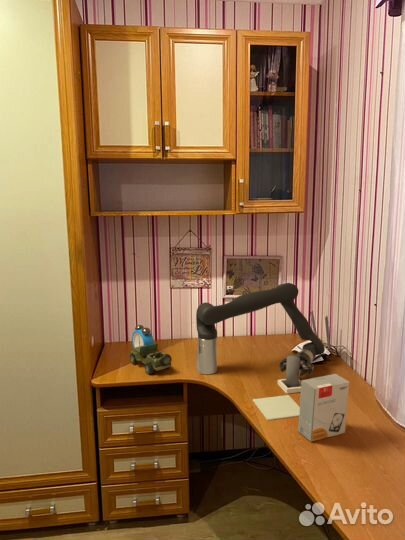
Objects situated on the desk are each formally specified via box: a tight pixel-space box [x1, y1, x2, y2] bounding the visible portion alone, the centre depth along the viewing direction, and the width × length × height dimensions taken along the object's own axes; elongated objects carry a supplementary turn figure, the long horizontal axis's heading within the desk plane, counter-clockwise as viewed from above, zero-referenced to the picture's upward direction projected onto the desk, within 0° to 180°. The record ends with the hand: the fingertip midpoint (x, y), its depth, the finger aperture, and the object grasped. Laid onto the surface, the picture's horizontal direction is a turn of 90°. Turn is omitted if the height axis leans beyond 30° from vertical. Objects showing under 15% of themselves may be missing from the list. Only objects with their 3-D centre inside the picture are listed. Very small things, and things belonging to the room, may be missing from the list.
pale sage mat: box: [252, 394, 300, 421], centre depth 168 cm, size 16×16×1 cm
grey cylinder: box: [285, 354, 300, 388], centre depth 184 cm, size 6×6×14 cm
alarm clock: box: [131, 324, 155, 349], centre depth 224 cm, size 13×6×15 cm, turn 40°
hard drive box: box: [298, 373, 350, 443], centre depth 149 cm, size 16×8×20 cm, turn 114°
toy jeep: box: [129, 342, 172, 376], centre depth 207 cm, size 12×25×11 cm, turn 37°
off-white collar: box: [277, 378, 302, 395], centre depth 185 cm, size 10×10×2 cm
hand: (291, 372), depth 182 cm, fingers open, 8 cm apart
